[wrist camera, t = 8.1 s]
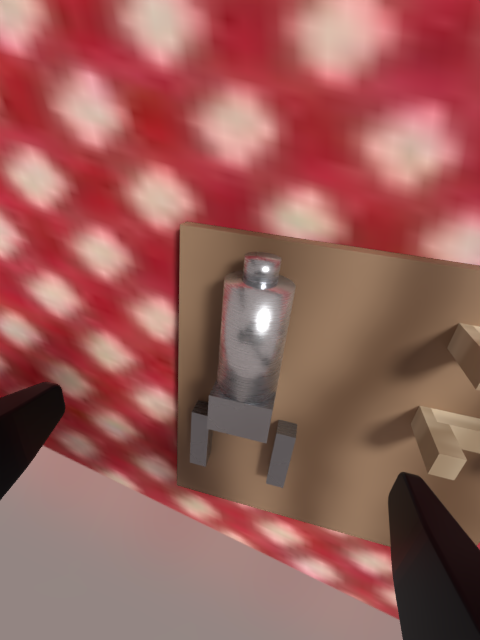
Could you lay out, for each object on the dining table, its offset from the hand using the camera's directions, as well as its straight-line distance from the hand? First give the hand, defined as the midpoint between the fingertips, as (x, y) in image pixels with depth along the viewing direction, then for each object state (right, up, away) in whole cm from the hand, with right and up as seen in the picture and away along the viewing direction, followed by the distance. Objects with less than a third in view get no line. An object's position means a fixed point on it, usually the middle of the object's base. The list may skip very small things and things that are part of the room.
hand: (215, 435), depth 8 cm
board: (+6, -2, +9) cm, 11 cm away
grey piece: (+1, +2, +7) cm, 7 cm away
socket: (+1, -4, +10) cm, 11 cm away
